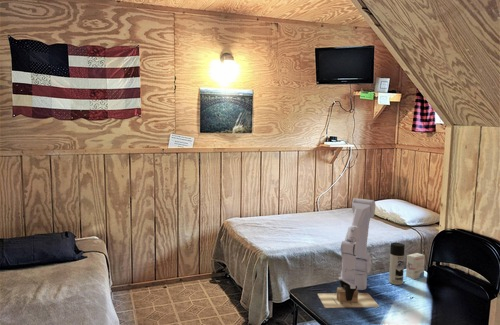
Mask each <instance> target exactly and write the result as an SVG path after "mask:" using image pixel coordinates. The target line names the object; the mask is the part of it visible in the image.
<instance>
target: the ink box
mask: <svg viewBox="0 0 500 325" xmlns="http://www.w3.org/2000/svg"><path fill="white" fill-rule="evenodd" d="M425 260H426V255H425V254H422V253H419V252H414V253H411V254H406V269H405V276H406V277H407V278H410V279H412V280H416V279H419V278H423V277H425V262H426V261H425Z"/></svg>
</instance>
